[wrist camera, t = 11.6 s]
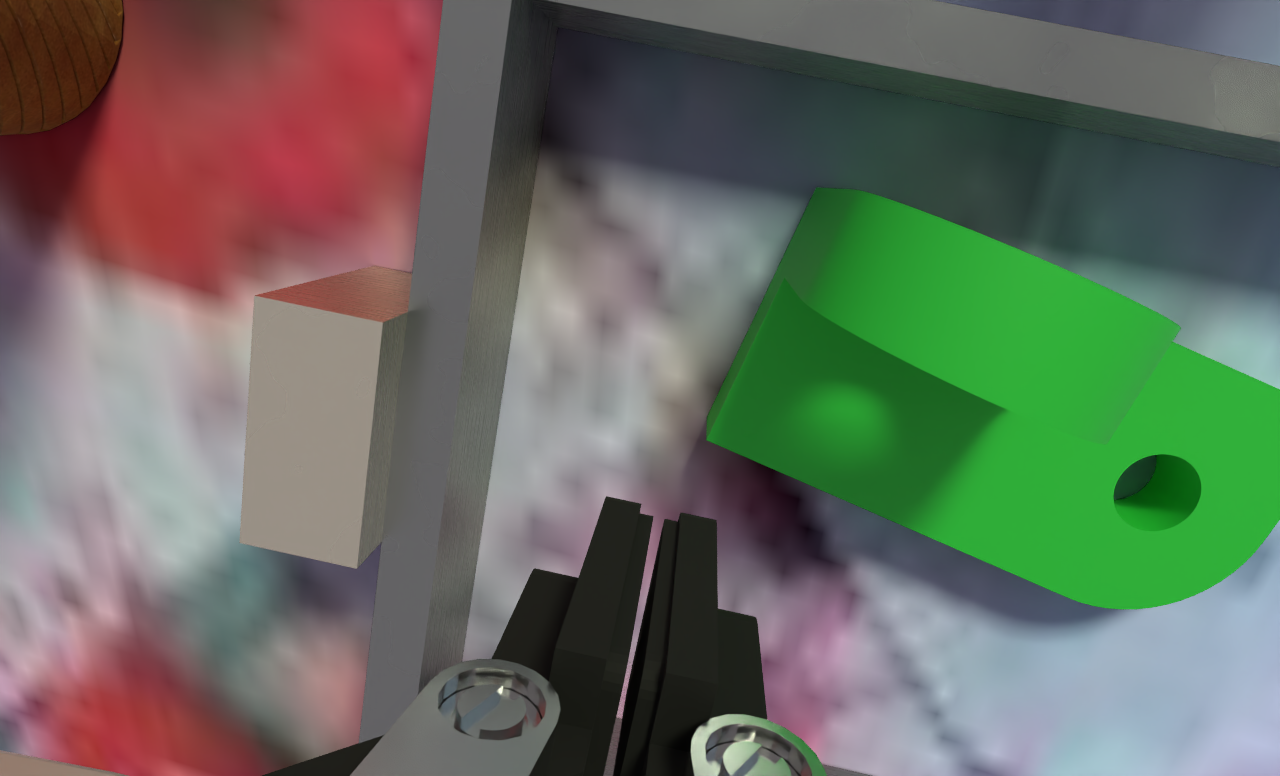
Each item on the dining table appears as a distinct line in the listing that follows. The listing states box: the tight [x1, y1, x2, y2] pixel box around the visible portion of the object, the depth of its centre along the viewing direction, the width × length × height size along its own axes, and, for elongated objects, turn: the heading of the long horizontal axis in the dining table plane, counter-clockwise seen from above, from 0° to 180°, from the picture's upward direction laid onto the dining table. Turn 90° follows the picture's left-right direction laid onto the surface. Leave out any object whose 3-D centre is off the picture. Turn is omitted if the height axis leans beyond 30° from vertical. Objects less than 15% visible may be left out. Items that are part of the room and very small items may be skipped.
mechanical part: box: [706, 187, 1280, 609], centre depth 15 cm, size 12×6×8 cm, turn 67°
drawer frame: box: [240, 0, 1280, 776], centre depth 17 cm, size 24×20×5 cm
